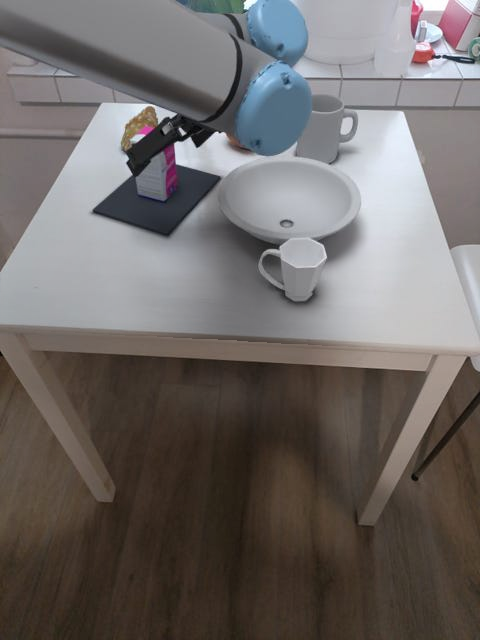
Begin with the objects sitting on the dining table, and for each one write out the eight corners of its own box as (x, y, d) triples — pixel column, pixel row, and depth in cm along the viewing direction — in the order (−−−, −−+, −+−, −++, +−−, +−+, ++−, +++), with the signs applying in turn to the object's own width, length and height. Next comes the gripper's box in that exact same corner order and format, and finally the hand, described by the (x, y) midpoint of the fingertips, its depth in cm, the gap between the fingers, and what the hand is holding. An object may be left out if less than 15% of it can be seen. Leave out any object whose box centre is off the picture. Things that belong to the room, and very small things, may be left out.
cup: (315, 312, 73) (321, 273, 67) (251, 297, 75) (252, 257, 69) (325, 281, 77) (332, 242, 71) (265, 268, 79) (266, 228, 73)
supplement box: (165, 204, 90) (157, 146, 82) (137, 197, 92) (127, 139, 83) (179, 187, 94) (173, 130, 85) (152, 181, 95) (143, 124, 87)
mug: (300, 167, 100) (305, 114, 91) (292, 145, 105) (296, 94, 97) (357, 163, 100) (367, 110, 92) (347, 142, 106) (355, 91, 98)
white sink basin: (191, 233, 85) (188, 201, 80) (269, 173, 98) (271, 142, 93) (308, 291, 76) (312, 259, 71) (378, 216, 88) (386, 185, 83)
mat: (93, 212, 90) (92, 209, 89) (152, 160, 102) (151, 157, 101) (167, 236, 85) (167, 233, 85) (220, 178, 97) (220, 176, 96)
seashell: (125, 149, 110) (129, 102, 107) (161, 156, 111) (166, 109, 108) (117, 151, 102) (120, 99, 98) (156, 158, 103) (161, 106, 99)
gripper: (162, 152, 61) (115, 203, 79) (295, 91, 72) (227, 148, 90) (130, 96, 59) (90, 161, 77) (271, 43, 71) (207, 110, 89)
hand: (164, 154), depth 84 cm, fingers open, 13 cm apart
